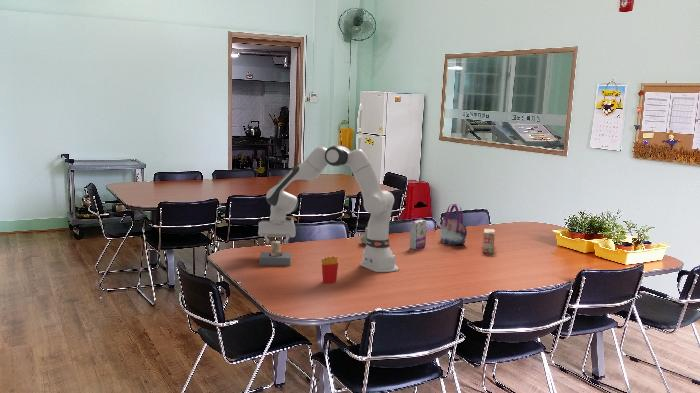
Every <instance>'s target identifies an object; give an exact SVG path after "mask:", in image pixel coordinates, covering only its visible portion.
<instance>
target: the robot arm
mask: <svg viewBox="0 0 700 393" xmlns="http://www.w3.org/2000/svg"><path fill="white" fill-rule="evenodd" d="M328 165H329V166H332V167H346V166H348V167H349V168H350V170H351V172H352V174H353V176H354V178H355V181H356V182H357V184H358V186H359V189H360V192H361V196H362V201H363V208H364V210H365V211H366V213H368V214H370V217H369V220H368V222H367V227H368V233H367V238H366V244H367V245H366V244H365V245H366V246H365V248H364V249H363V251H362V261H360V263H359V266H361V267H364V268H366V269H367V270H370V271H373V272H376V273H388V272H397V271H399V270H400V267H398V266H397V264H396V263H395V261H396V255H395V254H393V251H392V250H391V247H390V239H389V231H390V230H389V229H390V228H389V227H390V221H391V220H390V219H391V216H392V211H393V207H394V203H395V197H394V195H393V193H392V192H390V191H388V190H385V189H384V190H382V189H381V185H380V180H379V179H380V178H379V175H378V174H377V172H376V170H375V168H374V166H373V164H372V162H371V161H370V158H369V157H368V156H367V154H366V153H365V152H364V151H363V150H362V149H361V148H358V149H357V148H356V149H352V150H351V149H350V148H349V147H348V146H346V145H345V146H344V145H340V144H339V145H331V146H330V147H328V148H326V147H325V146H322V145H318V146H317V147H315V149H313V151H311V152H310V154H309V155H308V156H307V158H305V160H304V161H303V162H301V163H300V164H299V165H295V166H293V167H292V168H290V169H289V170H288V171H287V172H286V173H285V174H284V175H283V176H282V178H280V179H279V180H278V182H277V183H276V184H275V185H273V186H272V187H270V188H269V189H268V191H267V192H266V195H265V199H266V202H267V204H268V205H270V214H269V215H270V216H269V220H261V221H259V222H258V225H257V226H258V232H257V234H258V236H259V237H264V240H265V242H266V244H269V243H270V239H269V238H268V237H270V238H271V237H272V238H273V237H276V238H284V239H283V244H288V243H287V242H288V240H289V239H290V238H295V237H296V225H295V223H294V218H293V217H289V216H287V215H289V214H291V213H293V212H295V211H296V210H297V209H298V207H299V198H298V197H297V196H296V195H293V194H291V193H290V192H287V191H285V189H286V188H287V187H288V186H289V185H290V184H291V183H292V182H294V181H298V180H304V181H313V180H316V179H317V178H319V176H321V174H322V172H324V170H325V169H326V167H327V166H328Z"/></svg>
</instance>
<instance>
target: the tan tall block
mask: <svg viewBox="0 0 700 393" xmlns="http://www.w3.org/2000/svg"><path fill="white" fill-rule="evenodd" d="M270 249H271V250H270V252H271V256H280V252H281V240H272V241H271V244H270Z"/></svg>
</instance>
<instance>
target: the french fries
mask: <svg viewBox="0 0 700 393" xmlns="http://www.w3.org/2000/svg"><path fill="white" fill-rule="evenodd" d="M338 259H339V257H338V256H337V257H335V256H331V257H330V256H329V257H324V258H322V259H321V272H322V273H321V275H322V282H323V284H333V283H336V282H337V276H338V270H339V263H338Z"/></svg>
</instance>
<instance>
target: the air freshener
mask: <svg viewBox="0 0 700 393" xmlns="http://www.w3.org/2000/svg"><path fill="white" fill-rule="evenodd" d="M367 233H368V226H367V227H365V229H364V234H362V235H361V237H360V242H361V243H362V244H364V245H366V246H367V244H366V238H367Z"/></svg>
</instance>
